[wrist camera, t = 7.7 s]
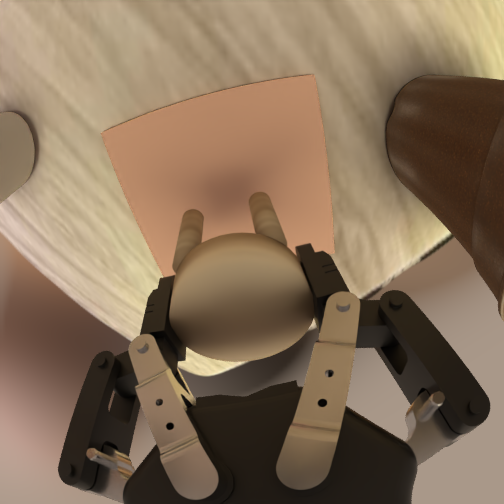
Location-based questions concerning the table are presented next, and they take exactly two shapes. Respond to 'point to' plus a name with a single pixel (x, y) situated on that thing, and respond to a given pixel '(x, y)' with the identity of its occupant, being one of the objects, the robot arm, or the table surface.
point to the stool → (239, 289)
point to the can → (14, 153)
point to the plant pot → (456, 161)
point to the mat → (228, 164)
